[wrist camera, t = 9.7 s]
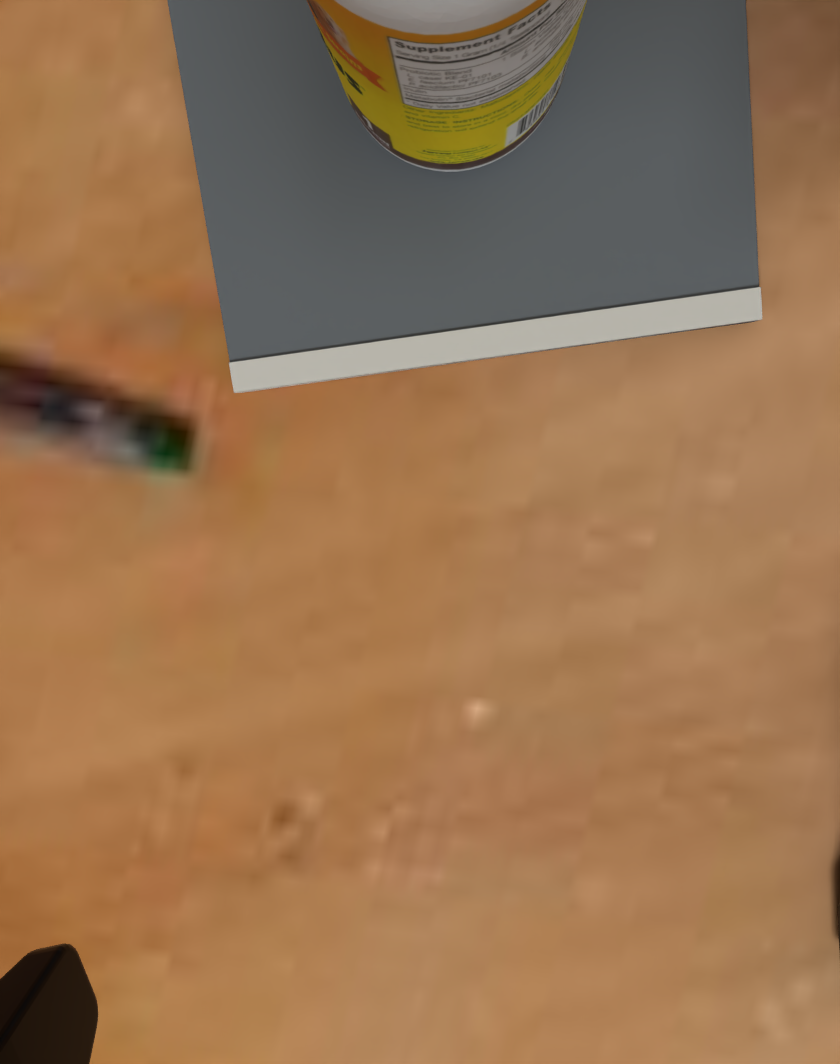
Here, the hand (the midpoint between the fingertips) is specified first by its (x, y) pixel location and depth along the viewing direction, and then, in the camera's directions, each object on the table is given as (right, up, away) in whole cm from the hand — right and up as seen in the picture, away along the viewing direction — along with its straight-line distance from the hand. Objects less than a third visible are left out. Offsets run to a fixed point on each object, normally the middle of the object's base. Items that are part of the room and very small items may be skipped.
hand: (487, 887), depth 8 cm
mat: (0, +15, +10) cm, 19 cm away
